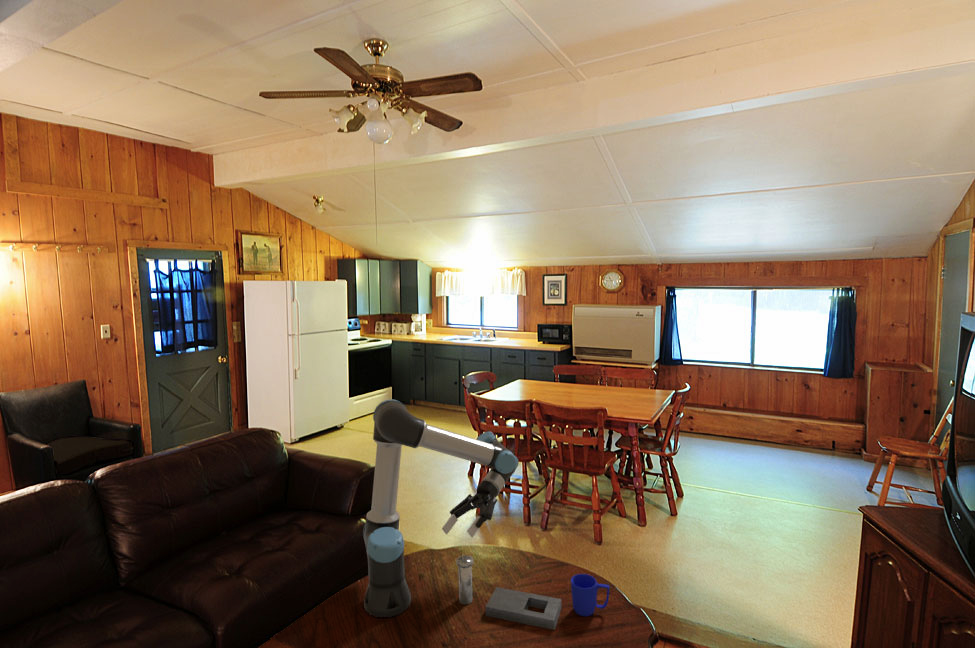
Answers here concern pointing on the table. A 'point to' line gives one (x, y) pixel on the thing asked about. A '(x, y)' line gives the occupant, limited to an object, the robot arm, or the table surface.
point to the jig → (524, 608)
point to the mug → (586, 594)
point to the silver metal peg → (465, 578)
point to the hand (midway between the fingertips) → (456, 532)
